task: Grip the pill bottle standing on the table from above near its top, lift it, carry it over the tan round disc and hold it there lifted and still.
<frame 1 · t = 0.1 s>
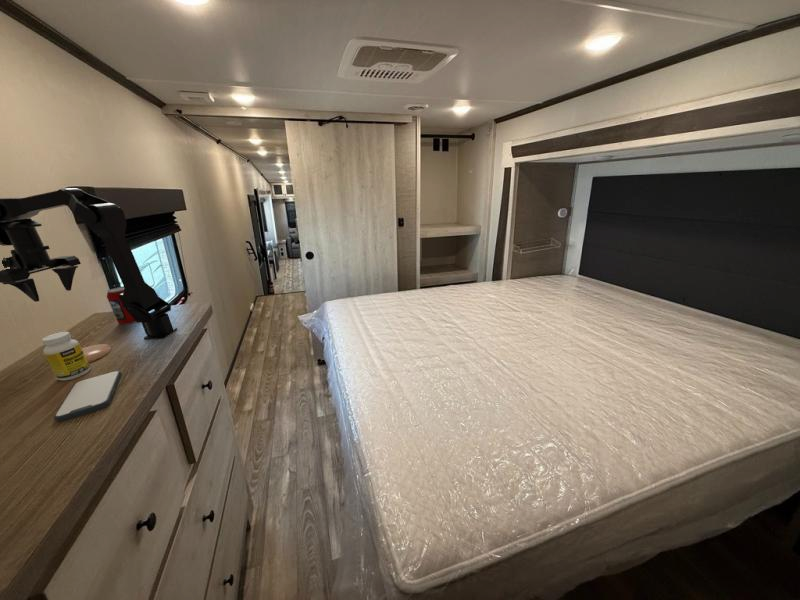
hand: (53, 295, 95), 15 cm above the dresser top, tool pointing down, fingers open, 9 cm apart
beverage can: (130, 321, 111), on the dresser top
tan round disc: (85, 356, 89), on the dresser top
pill bottle: (75, 374, 80), on the dresser top
phone case: (93, 397, 72), on the dresser top
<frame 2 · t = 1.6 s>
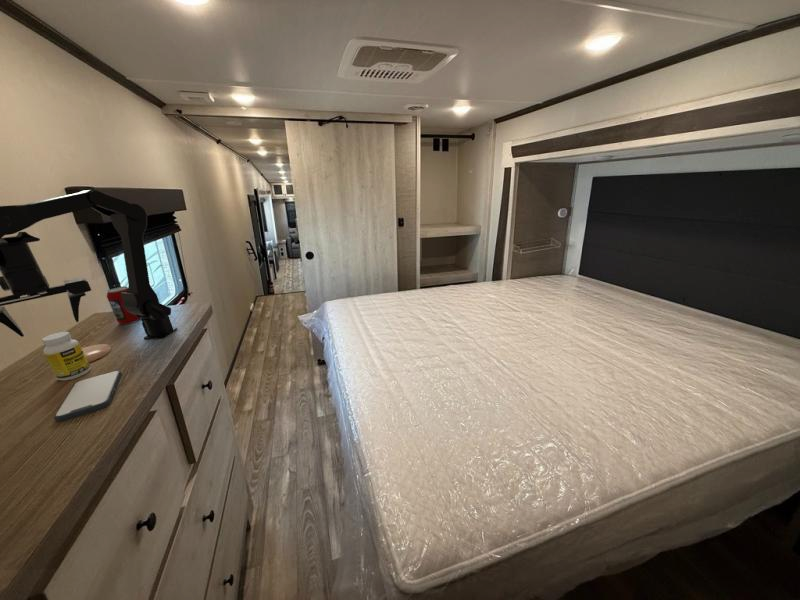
hand: (51, 328, 75), 13 cm above the dresser top, tool pointing down, fingers open, 9 cm apart
nothing on the dresser top moved.
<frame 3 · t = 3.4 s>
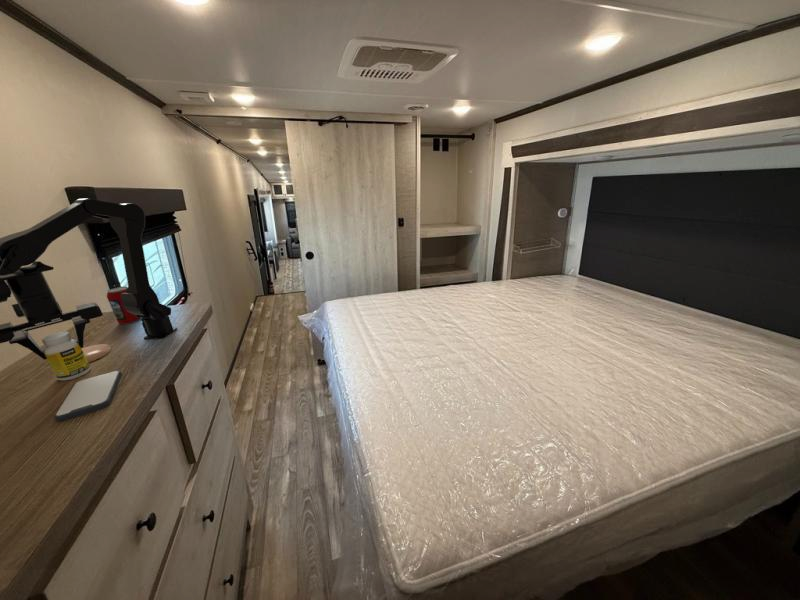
hand: (64, 353, 78), 6 cm above the dresser top, tool pointing down, fingers closed on pill bottle, 6 cm apart
pill bottle: (75, 374, 80), on the dresser top, touching gripper
everything else where it was.
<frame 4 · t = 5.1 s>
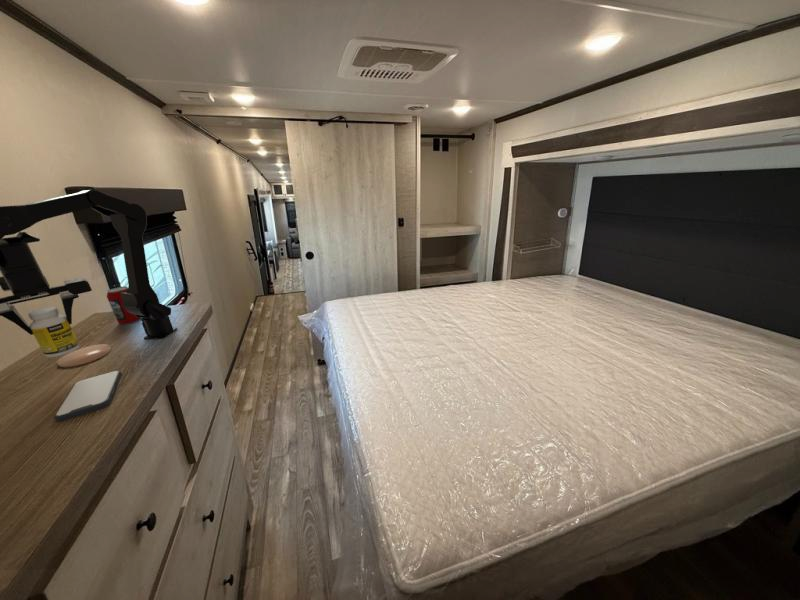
hand: (51, 328, 75), 13 cm above the dresser top, tool pointing down, fingers closed on pill bottle, 6 cm apart
pill bottle: (64, 352, 78), point 6 cm above the dresser top, touching gripper
everything else where it was.
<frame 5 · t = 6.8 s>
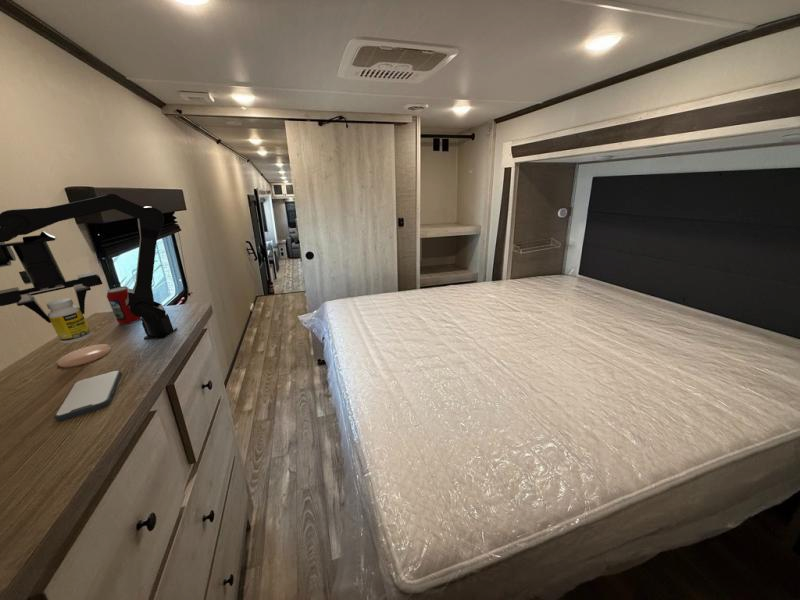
hand: (67, 317, 84), 12 cm above the dresser top, tool pointing down, fingers closed on pill bottle, 6 cm apart
pill bottle: (77, 339, 87), point 5 cm above the dresser top, touching gripper
everything else where it was.
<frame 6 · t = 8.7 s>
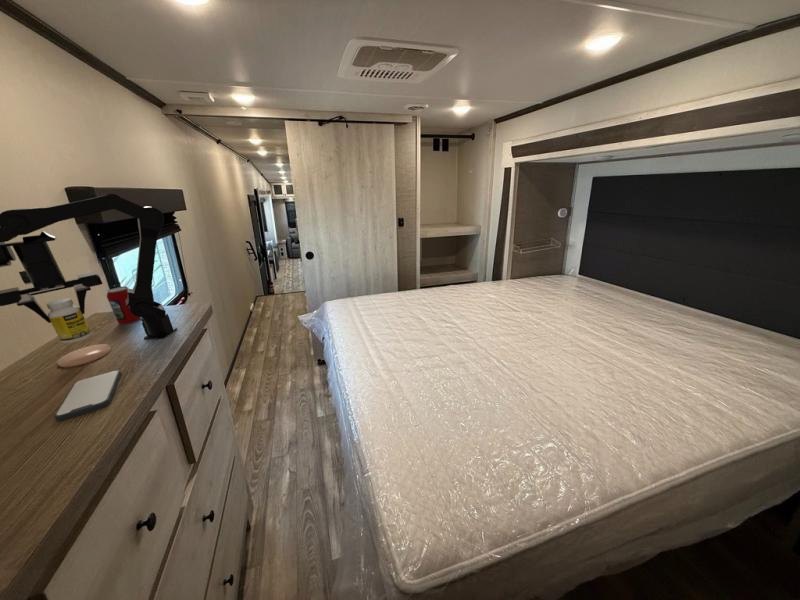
hand: (67, 317, 84), 12 cm above the dresser top, tool pointing down, fingers closed on pill bottle, 6 cm apart
pill bottle: (77, 339, 87), point 5 cm above the dresser top, touching gripper
everything else where it was.
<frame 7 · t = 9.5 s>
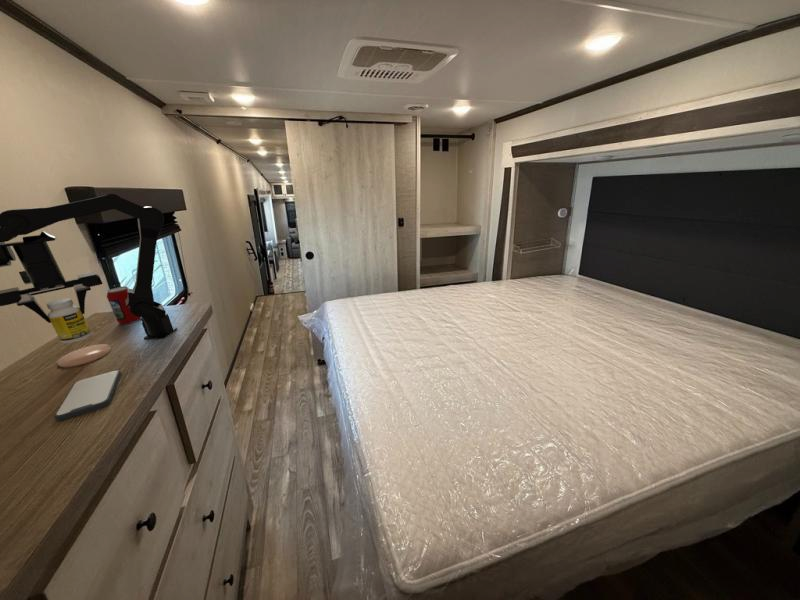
hand: (67, 317, 84), 12 cm above the dresser top, tool pointing down, fingers closed on pill bottle, 6 cm apart
pill bottle: (77, 339, 87), point 5 cm above the dresser top, touching gripper
everything else where it was.
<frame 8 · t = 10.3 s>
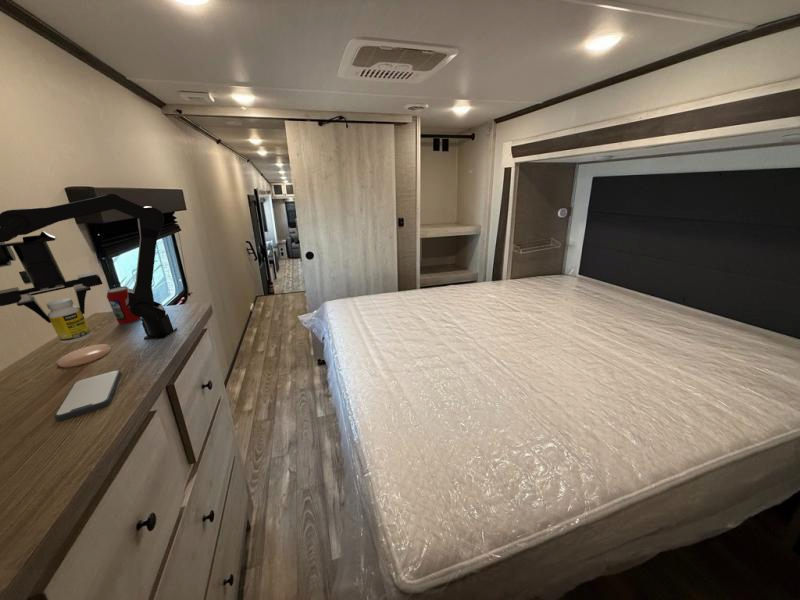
hand: (67, 317, 84), 12 cm above the dresser top, tool pointing down, fingers closed on pill bottle, 6 cm apart
pill bottle: (77, 339, 87), point 5 cm above the dresser top, touching gripper
everything else where it was.
at the end: the gripper is holding pill bottle; pill bottle 0.0 cm off-centre on the tan round disc, point 5.5 cm above the tan round disc's base; pill bottle tilted 0° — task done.
